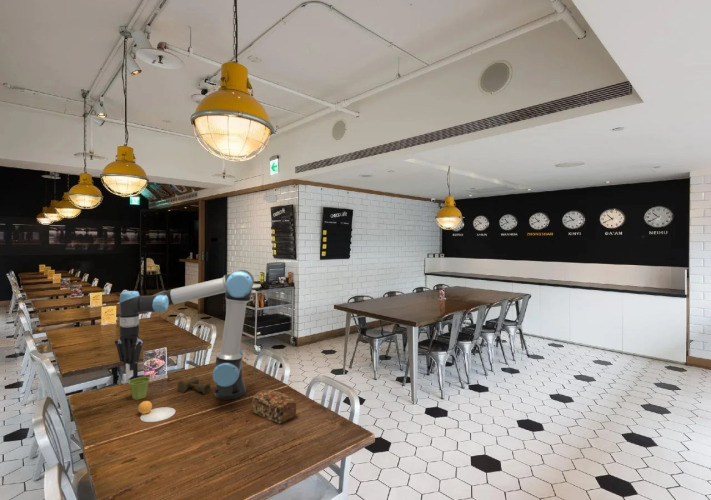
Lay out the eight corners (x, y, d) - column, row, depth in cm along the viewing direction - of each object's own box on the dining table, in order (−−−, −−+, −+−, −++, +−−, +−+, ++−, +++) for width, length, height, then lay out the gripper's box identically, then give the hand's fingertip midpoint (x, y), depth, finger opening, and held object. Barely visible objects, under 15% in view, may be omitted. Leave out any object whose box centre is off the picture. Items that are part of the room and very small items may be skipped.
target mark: (181, 408, 171) (181, 408, 171) (163, 423, 157) (163, 422, 157) (153, 406, 173) (153, 406, 173) (132, 421, 159) (132, 420, 159)
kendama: (199, 398, 184) (172, 390, 192) (214, 391, 193) (187, 384, 201) (200, 386, 184) (172, 379, 192) (215, 380, 193) (187, 373, 201)
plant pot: (143, 401, 178) (143, 384, 178) (124, 401, 179) (124, 383, 178) (154, 393, 188) (154, 377, 188) (136, 393, 188) (136, 376, 188)
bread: (251, 413, 167) (251, 392, 167) (269, 405, 176) (269, 384, 176) (279, 425, 156) (279, 402, 156) (297, 416, 165) (297, 394, 165)
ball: (140, 403, 169) (146, 413, 169) (133, 407, 163) (139, 418, 163) (150, 396, 169) (156, 406, 169) (143, 400, 164) (150, 411, 163)
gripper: (109, 326, 163) (109, 379, 163) (136, 327, 161) (137, 380, 162) (122, 323, 170) (122, 373, 171) (148, 324, 169) (148, 374, 169)
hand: (129, 377), depth 166 cm, fingers closed
